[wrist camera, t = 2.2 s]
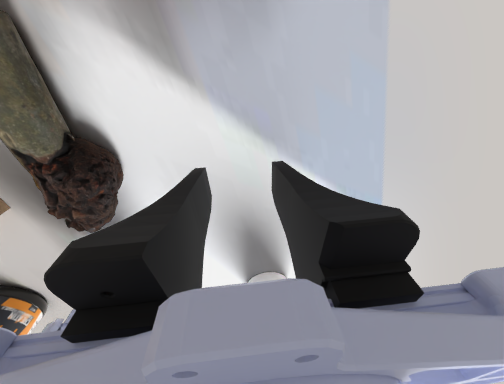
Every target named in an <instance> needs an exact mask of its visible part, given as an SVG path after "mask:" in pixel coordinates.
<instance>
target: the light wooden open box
mask: <svg viewBox="0 0 504 384" xmlns="http://www.w3.org/2000/svg"><path fill="white" fill-rule="evenodd" d="M8 209H10V207H9V206H8V205H7V204H6V203H4V202H3V201H2V200H1V199H0V215H1V214H2V213H4V212H5V211H7V210H8Z"/></svg>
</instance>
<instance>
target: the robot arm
mask: <svg viewBox="0 0 504 384" xmlns="http://www.w3.org/2000/svg"><path fill="white" fill-rule="evenodd" d="M272 194H273V199H274V203H275V206H276V209H277V212H278V215H279V217H280V220H281V223H282V225H283V228H284V231H285V234H286V237H287V241H288V245H289V249H290V253H291V258H292V262H293V266H294V271H295V276H296V279H279V280H270V281H261V282H252V283H243V284H234V285H226V286H217V287H208V288H202V272H203V257H204V246H205V239H206V234H207V229H208V223H209V218H210V213H211V201H212V195H211V190H210V186H209V181H208V177H207V172H206V168H195V169H194V170H193V171H191V172H190V173H189V174H188V175H187V176H186V177H185V178H184V179H183V180H182V181H181V182H180V183H179V184H178V185H176V186H175V187H174V188H173V189H172V190H170V191H169V192H168V193H167V194H166V195H164V196H163V197H162V198H160V199H159V200H157V201H156V202H154V203H153V204H151V205H150V206H148V207H147V208H145V209H143V210H141V211H139V212H138V213H136V214H134V215H132V216H131V217H129V218H127V219H125V220H123V221H121V222H118V223H116V224H114V225H112V226H110V227H107V228H105V229H103V230H100V231H98V232H95V233H93V234H90V235H88V236H85V237H83V238H80V239H77V240H75V241H72V242H71V243H70V244H69V245H68V247H67V248H66V249H65V250H64V251H63V252H62V254H61V255H60V256H59V257H58V258H57V260H56V261H55V262H54V263H53V264H52V266H51V267H50V268H49V269H48V270H47V271H46V273H45V275H44V282H45V284H46V286H47V288H48V289H49V290H50V291H51V292H52V293H53V294H54V295H56V296H57V297H59V298H60V299H61V300H63V301H64V302H65V303H67V304H68V305H69V306H71V307H72V308H74V309H73V310H72V311H71V313H70V314H69V316H68V317H67V319H66V320H65V322H64V323H62V322H63V320H64V319H60V318H58V319H56V320H55V322H54V321H53V322H51V323H49V324H47V325H46V327H45V328H44V329H43V331H42V332H41V333H35V334H27V335H18V336H17V335H16V334H15V333H14V332H12V331H10V330H8V329H5V328H1V327H0V384H491V383H498V382H504V267H502V268H493V269H485V270H478V271H475V272H472V273H470V274H469V275H467V276H466V277H465V278H464V279H463V280H462V281H461V283H458V284H449V285H442V286H432V287H424V288H420V287H419V286H418V284H417V283H416V282H415V281H414V279H413V278H412V277H411V276H410V275H409V273H408V272H410V271H411V267H410V266H409V265H408V264H407V263H406V261H405V259H406V257H407V256H408V254H409V253H410V252H411V250H412V249H413V247H414V246H415V245H416V243H417V241H418V239H419V234H420V230H419V228H418V226H417V225H416V224H415V223H414V222H413V221H412V220H411V219H410V218H409V217H408V216H407V215H406V214H405V213H404V212H402V211H401V210H400V209H398V208H392V207H388V206H383V205H378V204H373V203H369V202H366V201H362V200H358V199H355V198H352V197H349V196H346V195H343V194H340V193H337V192H335V191H332V190H330V189H328V188H326V187H323V186H321V185H319V184H317V183H315V182H314V181H312V180H310V179H308V178H307V177H305V176H304V175H302V174H300V173H299V172H298V171H296V170H295V169H293V168H292V167H290V166H289V165H288V164H286V163H285V162H283V161H277V162H272Z"/></svg>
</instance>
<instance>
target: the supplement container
mask: <svg viewBox="0 0 504 384" xmlns="http://www.w3.org/2000/svg"><path fill="white" fill-rule="evenodd" d="M47 307H48V306H47V303H46V301H45V300H44V299H43V298H42V297H40V296H39V295H37V294H35V293H33V292H30V291H28V290H24V289H20V288H16V287H9V286H0V327H1V328H5V329H8V330H10V331H12V332H14V333H15V334H16V335H17V336H18V335H27V334H30V333H31V332H32V330H33V329H34V327H35V326H36V325H37V323H38V322H39V320H40V319H41V318H42V317H43V316H44V314H45V313H46V311H47Z"/></svg>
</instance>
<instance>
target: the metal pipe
mask: <svg viewBox="0 0 504 384" xmlns="http://www.w3.org/2000/svg"><path fill="white" fill-rule="evenodd" d="M0 139H1V140H2V142H3V143H4V144H5V145H6V147H7V148H8V149H9V150H10V151H11V153H12V154H13V155H14V156H15V157H16V159H17V160H18V161H19V162H20V163H21V165H22V166H23V167H24V168H25V169H26V170H27V171H28V172H29V173H30V174H31V175H32V176H33V179H34V182H35V184H36V186H37V188H38V189H39V190H41V192H42V193H43V196H44V199H45V204H46V205H47V208H48V209H49V210H48V213H49V214H51V215H54V216H56V218H57V219H61V218H66V219H65V222H66V225H67V227H68V228H70V227H72V228H74V229H76V230H77V231H79V232H80V231H84V230H86V231H89V232H90V233H92V232H95V231H98V230H99V229H101V227H102V226H104V225H105V224H106V223H108V222H110V221H111V220H112V218H113V216H114V215H115V210H116V206H117V204H118V200H117V193H118V189H119V188H120V186H121V184H122V181H123V172H122V170H121V164H120V163H119V161H118V160H117V159H116V158H115V157H114V155H113V154H112V153H111V152H109V151H108V150H105V149H103V148H101V147H99V146H97V145H95V144H94V143H91V142H89V141H88V140H86V139H82V138H74V137H73V136H72V134H71V132H70V130H69V128H68V126H67V125H66V123H65V121H64V119H63V117H62V115H61V113H60V111H59V110H58V108H57V106H56V104H55V102H54V100H53V98H52V97H51V95H50V93H49V91H48V89H47V87H46V85H45V83H44V81H43V79H42V77H41V75H40V73H39V71H38V70H37V68H36V66H35V64H34V62H33V61H32V59H31V57H30V55H29V53H28V51H27V49H26V48H25V46H24V44H23V42H22V40H21V38H20V36H19V34H18V32H17V30H16V28H15V26H14V24H13V22H12V20H11V18H10V16H9V15H8V14H7V13H6V12H4V11H1V10H0Z"/></svg>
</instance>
